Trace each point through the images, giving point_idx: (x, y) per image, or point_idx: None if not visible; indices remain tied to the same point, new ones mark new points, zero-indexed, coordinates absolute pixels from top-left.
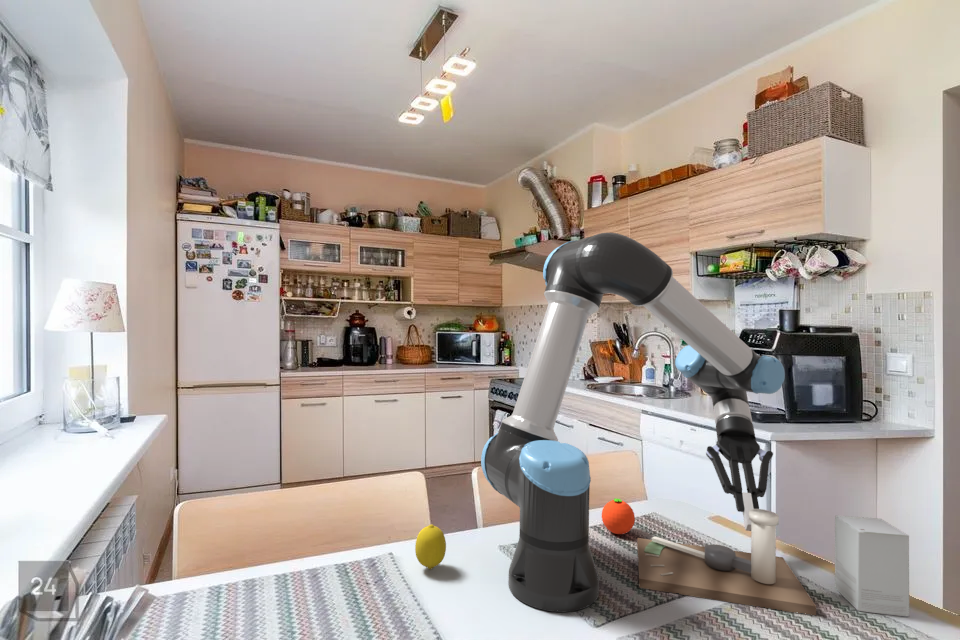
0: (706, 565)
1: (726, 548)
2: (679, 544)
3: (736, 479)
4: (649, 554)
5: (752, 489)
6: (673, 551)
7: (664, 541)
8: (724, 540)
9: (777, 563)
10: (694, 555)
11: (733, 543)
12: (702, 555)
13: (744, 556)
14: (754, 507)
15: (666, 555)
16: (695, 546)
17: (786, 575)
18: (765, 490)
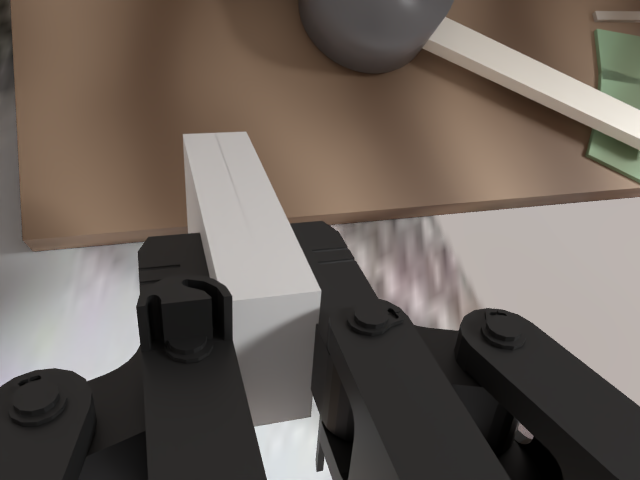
0: None
1: (356, 4)
2: (552, 95)
3: (444, 431)
4: (630, 16)
5: (206, 298)
6: None
7: (615, 104)
8: (326, 477)
9: (76, 136)
10: (469, 83)
11: (277, 454)
12: (445, 21)
13: None
14: (184, 248)
15: (571, 41)
16: (476, 188)
17: (59, 11)
18: (5, 386)
